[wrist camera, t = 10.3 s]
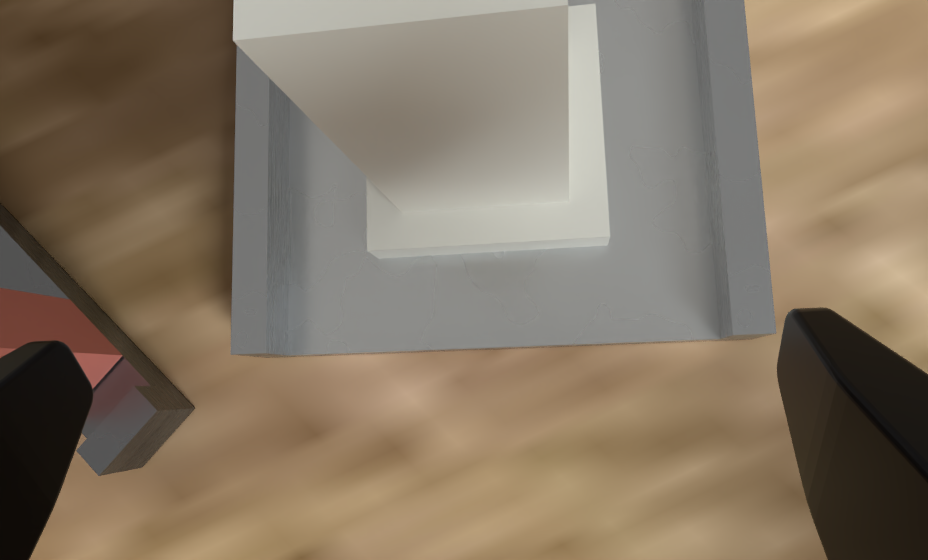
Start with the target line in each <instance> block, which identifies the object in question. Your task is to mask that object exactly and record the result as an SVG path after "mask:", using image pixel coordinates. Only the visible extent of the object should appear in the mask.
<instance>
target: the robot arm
mask: <svg viewBox="0 0 928 560" xmlns="http://www.w3.org/2000/svg"><path fill="white" fill-rule="evenodd" d="M777 377H778V383H779V388H780V392H781V396H782V401H783V405H784V409H785V413H786V417H787V422H788V426H789V430H790V434H791V438H792V443H793V447H794V451H795V455H796V459H797V464H798V468H799V472H800V476H801V480H802V484H803V488H804V492H805V496H806V500H807V503H808V506H809V509H810V512H811V515H812V518H813V521H814V524H815V526H816V529H817V532H818V534H819V537H820V540H821V542H822V545H823V548H824V551H825V553H826V556H827V559H828V560H928V374H927V373H925V372H924V371H922V370H921V369H919V368H918V367H916V366H915V365H913V364H912V363H911V362H909V361H908V360H906V359H905V358H903V357H902V356H900V355H899V354H897V353H896V352H894V351H893V350H891V349H890V348H888V347H887V346H885V345H884V344H882V343H881V342H879V341H878V340H876V339H875V338H873V337H872V336H870V335H869V334H867V333H866V332H864V331H863V330H861V329H860V328H858V327H857V326H855V325H854V324H852V323H851V322H849V321H848V320H846V319H845V318H843V317H842V316H840V315H839V314H837V313H836V312H834V311H833V310H831V309H828V308H800V309H793V310H791V311H790V312H788V314H787V316H786V318H785V323H784V328H783V334H782V340H781V345H780V351H779V356H778V363H777ZM92 402H93V389H92V385H91V383H90V381H89V379H88V378H87V376H86V374H85V373H84V371H83V369H82V368H81V366H80V364H79V363H78V361H77V359H76V357H75V356H74V354H73V352H72V351H71V349H70V348H69V346H68V345H66V344H65V343H63V342H61V341H57V340H52V341H34V342H29V343H26V344H24V345H22V346H21V347H19V348H17V349H15V350H14V351H12V352H10V353H8V354H6V355H5V356H3V357H1V358H0V560H29V559H30V557H31V555H32V553H33V551H34V549H35V547H36V544H37V542H38V540H39V538H40V536H41V534H42V532H43V530H44V528H45V526H46V524H47V521H48V519H49V517H50V515H51V512H52V510H53V508H54V506H55V503H56V501H57V498H58V496H59V493H60V490H61V488H62V485H63V482H64V480H65V477H66V474H67V471H68V469H69V466H70V463H71V460H72V458H73V455H74V452H75V449H76V447H77V444H78V441H79V438H80V436H81V433H82V430H83V428H84V425H85V422H86V419H87V417H88V414H89V411H90V408H91V406H92Z"/></svg>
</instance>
